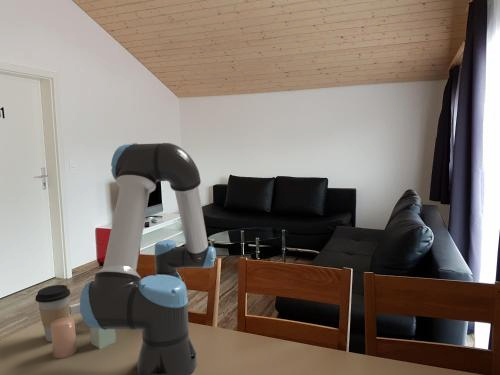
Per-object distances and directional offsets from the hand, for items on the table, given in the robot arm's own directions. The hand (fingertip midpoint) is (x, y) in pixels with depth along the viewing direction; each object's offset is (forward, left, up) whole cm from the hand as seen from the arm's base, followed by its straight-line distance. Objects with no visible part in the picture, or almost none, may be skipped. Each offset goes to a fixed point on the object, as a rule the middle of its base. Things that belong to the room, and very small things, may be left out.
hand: (70, 310), depth 116 cm
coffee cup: (0, +4, -7) cm, 8 cm away
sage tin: (-13, -5, -7) cm, 16 cm away
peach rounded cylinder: (-11, +5, -7) cm, 14 cm away
